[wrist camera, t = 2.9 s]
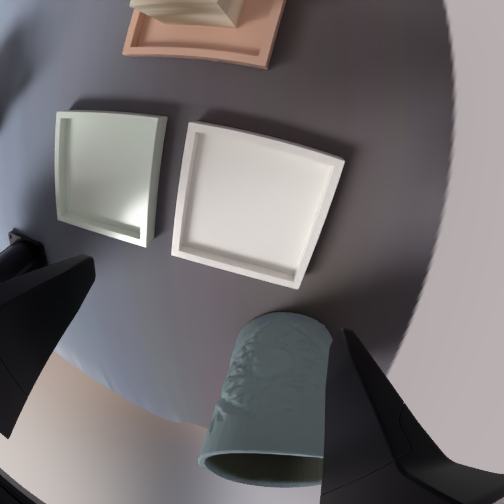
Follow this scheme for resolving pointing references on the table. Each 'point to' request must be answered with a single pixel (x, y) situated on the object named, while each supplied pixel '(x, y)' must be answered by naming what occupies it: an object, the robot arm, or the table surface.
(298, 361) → the teal patterned cup
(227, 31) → the dish
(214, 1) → the letter cube
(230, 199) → the dish
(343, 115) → the table surface
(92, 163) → the dish
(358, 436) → the robot arm
